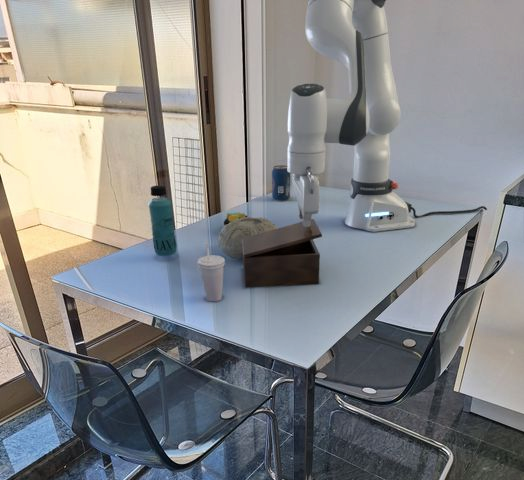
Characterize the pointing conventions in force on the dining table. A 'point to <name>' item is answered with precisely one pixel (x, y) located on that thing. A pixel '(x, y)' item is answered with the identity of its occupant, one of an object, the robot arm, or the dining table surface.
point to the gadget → (233, 217)
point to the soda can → (280, 183)
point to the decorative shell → (241, 234)
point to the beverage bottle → (162, 222)
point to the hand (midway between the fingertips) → (304, 221)
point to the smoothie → (212, 275)
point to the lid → (279, 238)
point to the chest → (283, 266)
